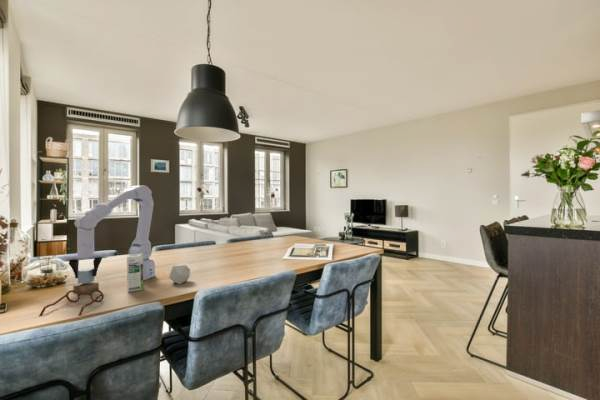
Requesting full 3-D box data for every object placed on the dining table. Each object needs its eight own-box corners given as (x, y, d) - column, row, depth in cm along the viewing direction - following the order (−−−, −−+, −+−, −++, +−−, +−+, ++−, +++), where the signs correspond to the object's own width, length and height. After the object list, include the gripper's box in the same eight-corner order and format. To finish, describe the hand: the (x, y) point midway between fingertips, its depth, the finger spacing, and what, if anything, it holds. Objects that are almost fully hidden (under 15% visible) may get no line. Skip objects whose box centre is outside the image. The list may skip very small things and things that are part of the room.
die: (194, 284, 131) (194, 263, 137) (180, 278, 124) (181, 257, 130) (178, 289, 133) (179, 269, 139) (164, 284, 126) (165, 263, 132)
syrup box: (127, 292, 118) (127, 256, 117) (127, 288, 123) (126, 254, 122) (143, 290, 121) (143, 255, 120) (142, 286, 126) (142, 252, 125)
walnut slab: (98, 289, 122) (98, 282, 122) (84, 294, 117) (84, 286, 117) (87, 288, 124) (87, 281, 124) (73, 292, 118) (73, 285, 118)
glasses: (104, 302, 108) (104, 289, 108) (79, 317, 95) (79, 301, 95) (67, 303, 107) (67, 289, 107) (37, 317, 94) (37, 302, 94)
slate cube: (94, 280, 122) (94, 268, 122) (88, 283, 118) (88, 271, 118) (84, 280, 122) (84, 268, 122) (77, 283, 118) (77, 271, 118)
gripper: (108, 241, 127) (108, 272, 127) (66, 243, 120) (66, 276, 120) (105, 243, 121) (106, 276, 121) (61, 246, 114) (62, 281, 114)
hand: (86, 276), depth 120 cm, fingers open, 5 cm apart
